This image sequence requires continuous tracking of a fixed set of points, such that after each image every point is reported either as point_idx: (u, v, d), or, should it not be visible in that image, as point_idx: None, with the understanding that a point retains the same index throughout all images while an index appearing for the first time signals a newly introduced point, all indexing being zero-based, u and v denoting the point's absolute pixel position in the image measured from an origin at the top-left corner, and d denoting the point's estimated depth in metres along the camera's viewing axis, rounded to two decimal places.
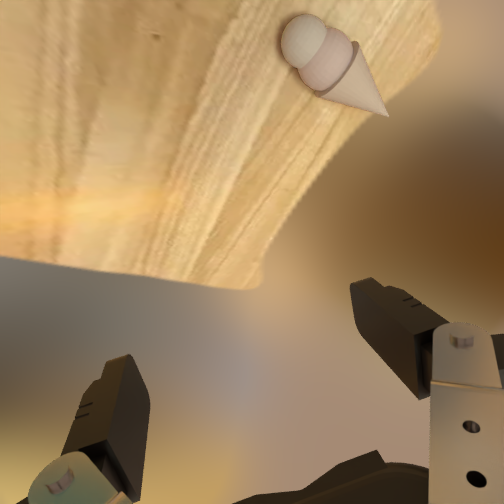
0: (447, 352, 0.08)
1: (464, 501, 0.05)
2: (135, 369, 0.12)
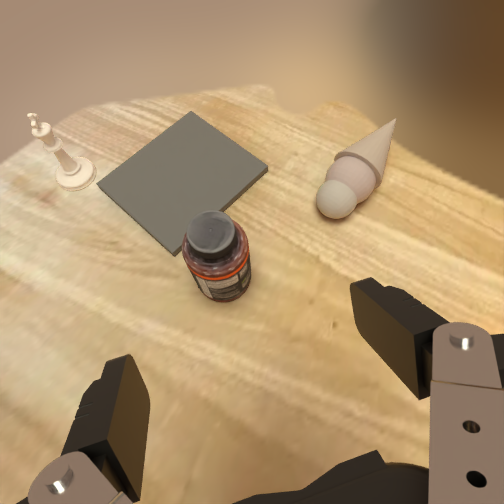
0: (447, 352, 0.08)
1: (464, 501, 0.05)
2: (135, 369, 0.12)
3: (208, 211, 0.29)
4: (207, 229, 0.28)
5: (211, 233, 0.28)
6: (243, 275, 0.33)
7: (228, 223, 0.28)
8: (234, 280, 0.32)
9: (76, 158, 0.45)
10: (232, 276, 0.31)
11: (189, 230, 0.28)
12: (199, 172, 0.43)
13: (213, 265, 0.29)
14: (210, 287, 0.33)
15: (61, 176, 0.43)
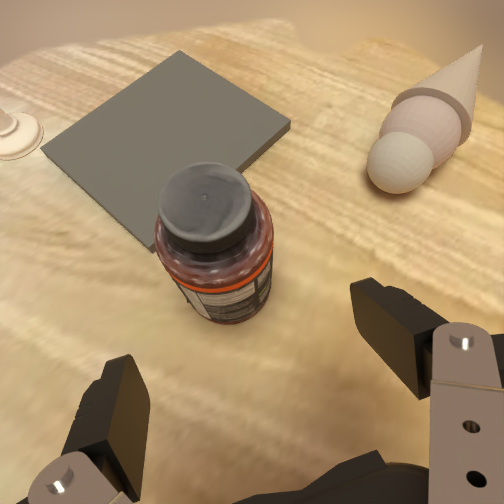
0: (447, 352, 0.08)
1: (464, 501, 0.05)
2: (135, 369, 0.12)
3: (200, 163, 0.15)
4: (198, 196, 0.14)
5: (206, 203, 0.14)
6: (263, 282, 0.19)
7: (238, 184, 0.15)
8: (248, 291, 0.18)
9: (14, 114, 0.31)
10: (245, 284, 0.17)
11: (164, 197, 0.14)
12: (190, 130, 0.30)
13: (210, 266, 0.15)
14: (206, 304, 0.19)
15: None
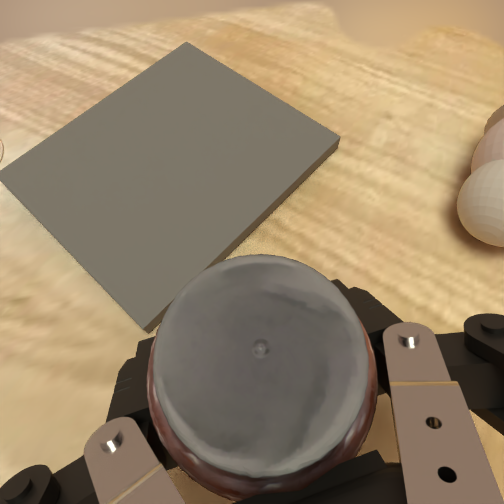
0: (398, 352, 0.08)
1: (440, 499, 0.05)
2: None
3: (246, 261, 0.07)
4: (245, 347, 0.06)
5: (266, 366, 0.06)
6: None
7: (336, 317, 0.06)
8: None
9: None
10: None
11: (168, 349, 0.06)
12: (203, 151, 0.21)
13: (266, 477, 0.07)
14: None
15: None
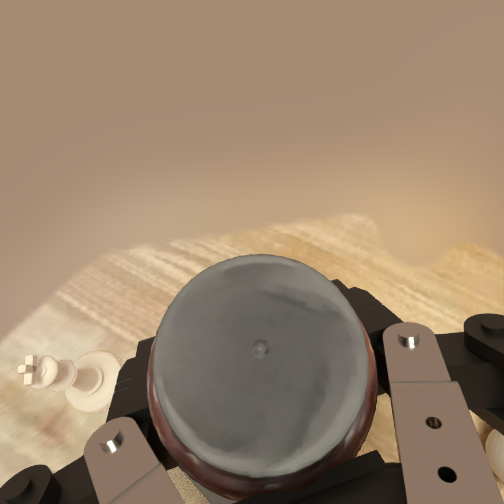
0: (398, 352, 0.08)
1: (441, 500, 0.05)
2: None
3: (246, 261, 0.07)
4: (245, 347, 0.06)
5: (266, 366, 0.06)
6: None
7: (336, 317, 0.06)
8: None
9: (95, 356, 0.29)
10: None
11: (168, 349, 0.06)
12: None
13: (266, 477, 0.07)
14: None
15: (73, 394, 0.28)
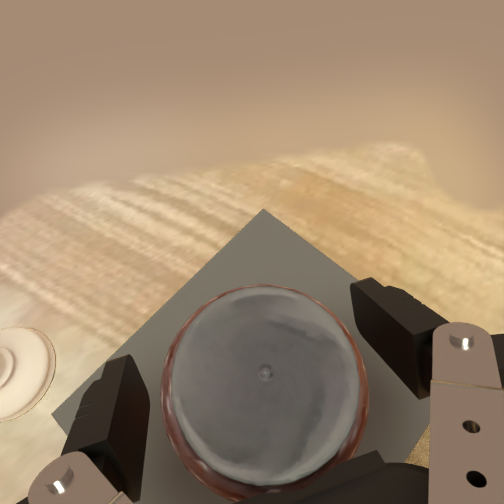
0: (447, 352, 0.08)
1: (464, 501, 0.05)
2: (135, 369, 0.12)
3: (253, 293, 0.08)
4: (252, 371, 0.07)
5: (270, 388, 0.07)
6: None
7: (332, 345, 0.07)
8: None
9: (9, 335, 0.19)
10: None
11: (184, 372, 0.07)
12: None
13: None
14: None
15: None
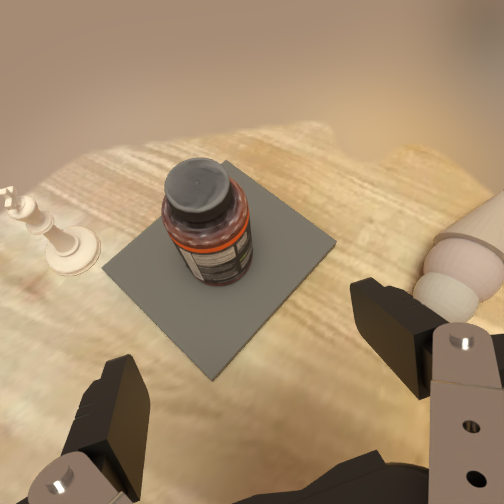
0: (447, 352, 0.08)
1: (464, 501, 0.05)
2: (135, 369, 0.12)
3: (194, 159, 0.22)
4: (192, 182, 0.21)
5: (198, 186, 0.21)
6: (242, 249, 0.25)
7: (221, 174, 0.21)
8: (230, 254, 0.24)
9: (74, 229, 0.33)
10: (227, 248, 0.23)
11: (169, 182, 0.21)
12: None
13: (201, 231, 0.22)
14: (199, 265, 0.25)
15: (53, 257, 0.32)
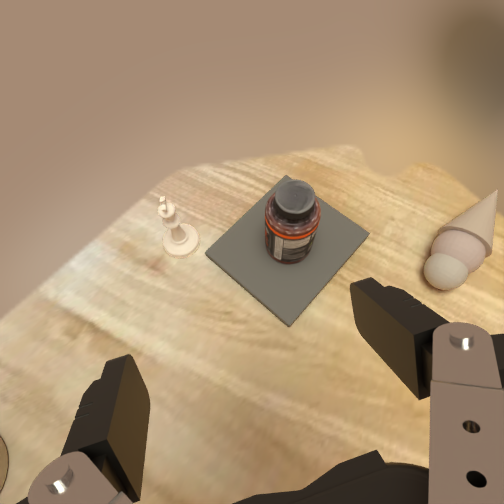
0: (447, 352, 0.08)
1: (464, 501, 0.05)
2: (135, 369, 0.12)
3: (292, 180, 0.35)
4: (292, 194, 0.34)
5: (296, 197, 0.34)
6: (312, 238, 0.39)
7: (309, 190, 0.34)
8: (307, 241, 0.38)
9: (181, 225, 0.46)
10: (307, 236, 0.37)
11: (278, 195, 0.34)
12: None
13: (295, 225, 0.35)
14: (284, 248, 0.39)
15: (169, 245, 0.45)
